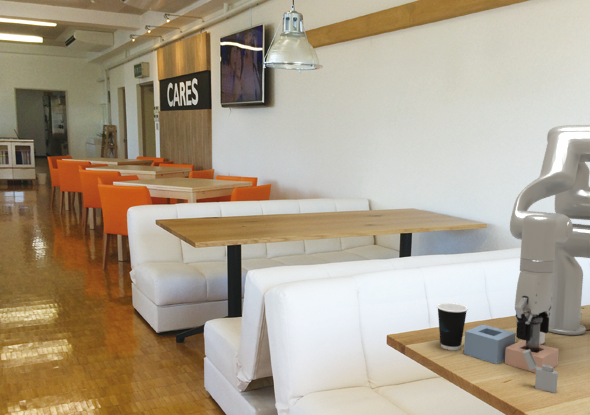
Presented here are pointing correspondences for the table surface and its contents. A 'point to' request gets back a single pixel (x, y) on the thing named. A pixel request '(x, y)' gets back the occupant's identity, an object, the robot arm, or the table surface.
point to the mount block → (541, 358)
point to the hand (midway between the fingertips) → (532, 335)
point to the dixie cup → (451, 324)
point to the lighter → (542, 374)
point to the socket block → (488, 343)
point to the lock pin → (534, 334)
